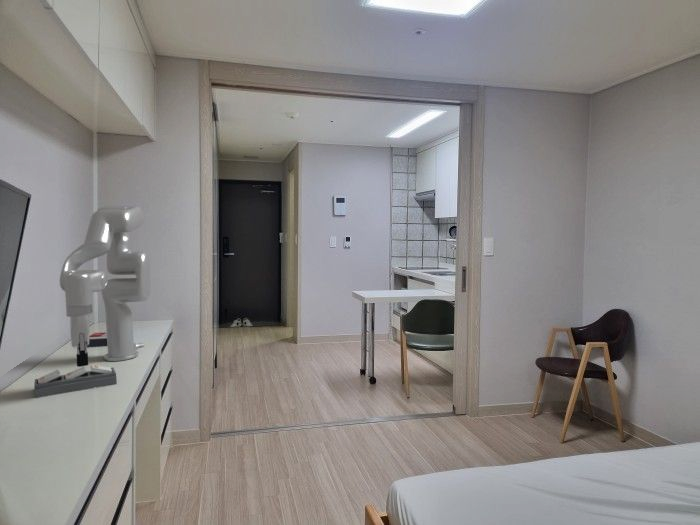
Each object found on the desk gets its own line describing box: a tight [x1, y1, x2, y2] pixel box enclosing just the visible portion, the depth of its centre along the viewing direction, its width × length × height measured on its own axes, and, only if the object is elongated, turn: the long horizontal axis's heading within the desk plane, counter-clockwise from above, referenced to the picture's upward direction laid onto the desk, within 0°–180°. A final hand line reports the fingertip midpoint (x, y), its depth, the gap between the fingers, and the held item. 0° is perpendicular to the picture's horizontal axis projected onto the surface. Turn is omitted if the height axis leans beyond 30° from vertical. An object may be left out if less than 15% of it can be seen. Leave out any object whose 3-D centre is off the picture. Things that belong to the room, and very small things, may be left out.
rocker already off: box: [90, 364, 112, 374], centre depth 165 cm, size 6×4×1 cm
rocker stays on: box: [37, 369, 61, 384], centre depth 157 cm, size 6×4×1 cm
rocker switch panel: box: [33, 367, 118, 398], centre depth 162 cm, size 23×9×4 cm, turn 122°
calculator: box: [87, 331, 107, 348], centre depth 221 cm, size 11×4×15 cm
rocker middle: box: [64, 366, 88, 380], centre depth 161 cm, size 6×4×1 cm
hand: (82, 365), depth 162 cm, fingers closed
